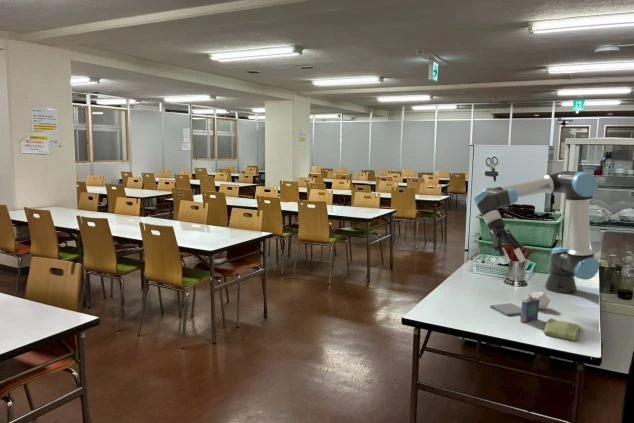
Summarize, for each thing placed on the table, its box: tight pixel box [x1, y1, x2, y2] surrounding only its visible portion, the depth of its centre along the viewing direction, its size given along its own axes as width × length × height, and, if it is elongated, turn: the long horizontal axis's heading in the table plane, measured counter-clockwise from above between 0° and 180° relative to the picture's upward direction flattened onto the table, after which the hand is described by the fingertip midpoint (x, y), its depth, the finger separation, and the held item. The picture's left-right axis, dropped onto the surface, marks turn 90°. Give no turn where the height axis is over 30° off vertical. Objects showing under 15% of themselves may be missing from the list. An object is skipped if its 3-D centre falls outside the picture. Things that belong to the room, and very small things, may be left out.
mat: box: [489, 302, 522, 317], centre depth 219 cm, size 12×12×1 cm
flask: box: [520, 294, 540, 324], centre depth 206 cm, size 10×3×12 cm, turn 117°
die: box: [530, 291, 551, 310], centre depth 222 cm, size 8×9×10 cm
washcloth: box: [543, 318, 582, 342], centre depth 194 cm, size 13×18×3 cm
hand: (515, 261), depth 213 cm, fingers open, 13 cm apart
